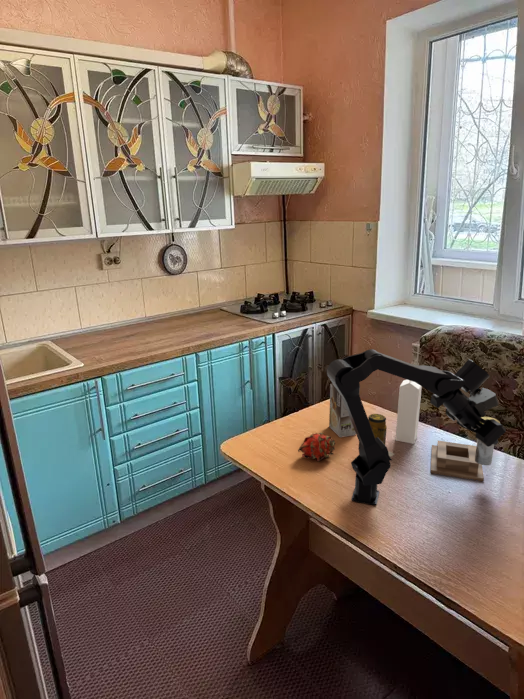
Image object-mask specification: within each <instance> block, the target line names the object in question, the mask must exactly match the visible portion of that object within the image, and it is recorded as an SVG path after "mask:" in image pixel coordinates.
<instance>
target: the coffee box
mask: <svg viewBox="0 0 524 699" xmlns="http://www.w3.org/2000/svg"><path fill="white" fill-rule="evenodd" d="M329 385H330V389H329V391H330V392H329V417H328V418H329V419H328V420H329V422H328V427H329V428H330V429H331V430H332V431H333V432H334V433H335V434H336V435H337V436H338V437H339V438H345V437H352V436H357V435H356V432H355V430H354V427H353V424H352V422H351V419H350V417H349V414H348V412H347V409H346V406H345V404H344V401H343V399H342V396H341V395H340V393H339V392H338V391H337V389H336V388H335V386H334V385H333V383H332V382H331V383H330V384H329Z"/></svg>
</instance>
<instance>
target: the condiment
mask: <svg viewBox="0 0 524 699" xmlns="http://www.w3.org/2000/svg"><path fill="white" fill-rule="evenodd" d="M367 417H368V420H369V423H370V425H371V428H372V431H373V433H374V436H375V438H377V437H378V438H379V439H380V440H381V441H382V442H383V443H384V444H385V445H386V442H387V441H386V440H387V424H386V423H387V418H386V416H385V415H383V414H380V413H371V414H370V415H368V416H367ZM388 454H389V457H390V458H391V457H393V456H395V455H396V453H393V452H392V451H389V450H388Z"/></svg>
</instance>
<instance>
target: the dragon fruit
mask: <svg viewBox="0 0 524 699" xmlns="http://www.w3.org/2000/svg"><path fill="white" fill-rule="evenodd" d="M335 444H336V442H335V440H334V438H332V436H329V435H327V434H324V433H323V432H319V434H318V433H316V432H315V433H312V434H311V435H310V436H306V437H305V438H304V440H303V442H302V443H301V445H300V446H299V448H298V449H297V451H298V453H299V452H301V453H302V454H301V457H303V458H305V459H311V460H314V459H316V461H317V462H320V461H321V460H323V459H326V458H329V457H330V455H332V456H333V455H334V452H333V451H335V450H336V449H335Z"/></svg>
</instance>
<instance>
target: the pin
mask: <svg viewBox="0 0 524 699" xmlns="http://www.w3.org/2000/svg"><path fill="white" fill-rule="evenodd" d="M481 418H483V419H484V420H486V419H489V420H490V419H494V420H495V421H497V422H498V423H500V424H501V422H500V420H499V419H497V418H494V417H491V416H484V417H481ZM482 424H483V423H482ZM476 440H477V441H476V454H475V462H477V463H478V464H481V465H482V466H490V465H492V462H493V457H494V456H493V455H494V447H495V445H494V444H492V445H491V446H489V447H487V446H486V445H485V444H483V443H482V442H481V441H480V440H478V439H476Z"/></svg>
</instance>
